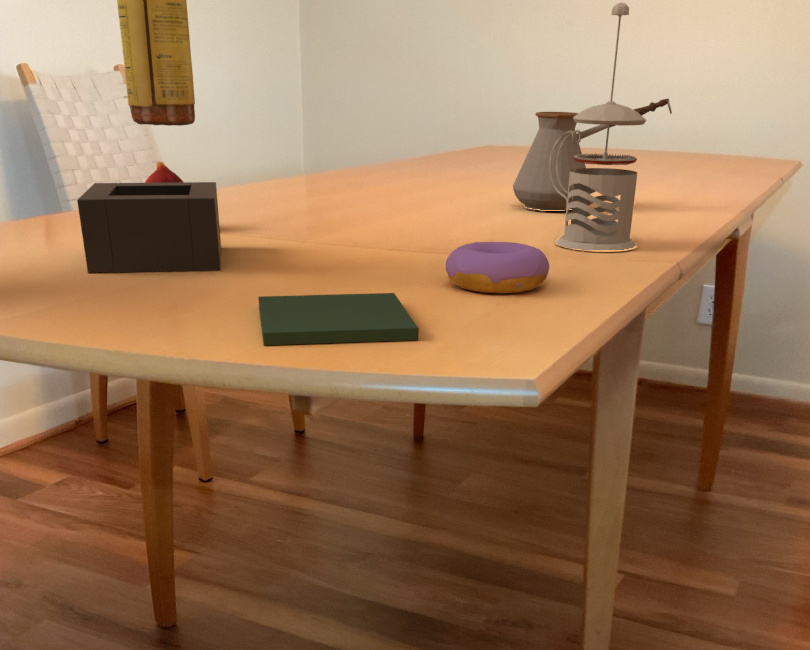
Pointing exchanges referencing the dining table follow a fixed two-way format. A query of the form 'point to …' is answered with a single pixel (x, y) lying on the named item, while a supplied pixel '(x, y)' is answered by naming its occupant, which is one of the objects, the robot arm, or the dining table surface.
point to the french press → (600, 180)
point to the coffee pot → (534, 172)
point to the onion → (163, 175)
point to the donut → (497, 267)
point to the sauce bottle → (157, 61)
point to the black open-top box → (150, 227)
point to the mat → (335, 319)
